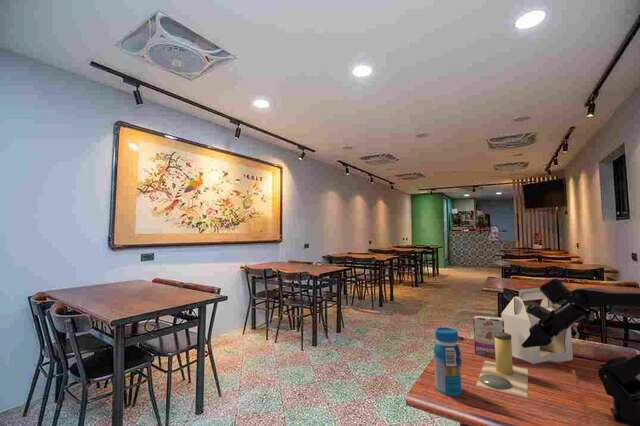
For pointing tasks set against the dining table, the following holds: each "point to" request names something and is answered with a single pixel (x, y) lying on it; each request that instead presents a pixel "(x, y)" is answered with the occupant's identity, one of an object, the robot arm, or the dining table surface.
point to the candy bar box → (486, 334)
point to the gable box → (521, 321)
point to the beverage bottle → (447, 362)
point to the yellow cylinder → (503, 353)
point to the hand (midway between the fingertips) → (526, 343)
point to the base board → (517, 379)
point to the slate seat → (495, 381)
